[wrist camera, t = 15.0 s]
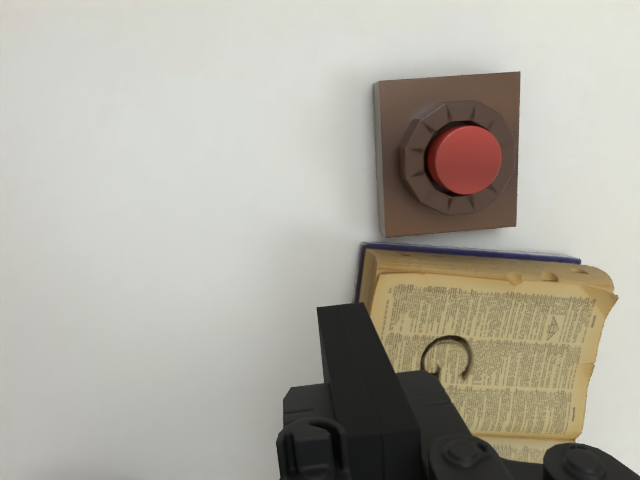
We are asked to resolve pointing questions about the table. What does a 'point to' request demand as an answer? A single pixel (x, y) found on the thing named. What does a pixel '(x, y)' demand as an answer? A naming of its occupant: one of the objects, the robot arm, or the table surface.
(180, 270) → the table surface
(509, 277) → the book
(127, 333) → the table surface
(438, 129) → the button block
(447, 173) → the stop button
